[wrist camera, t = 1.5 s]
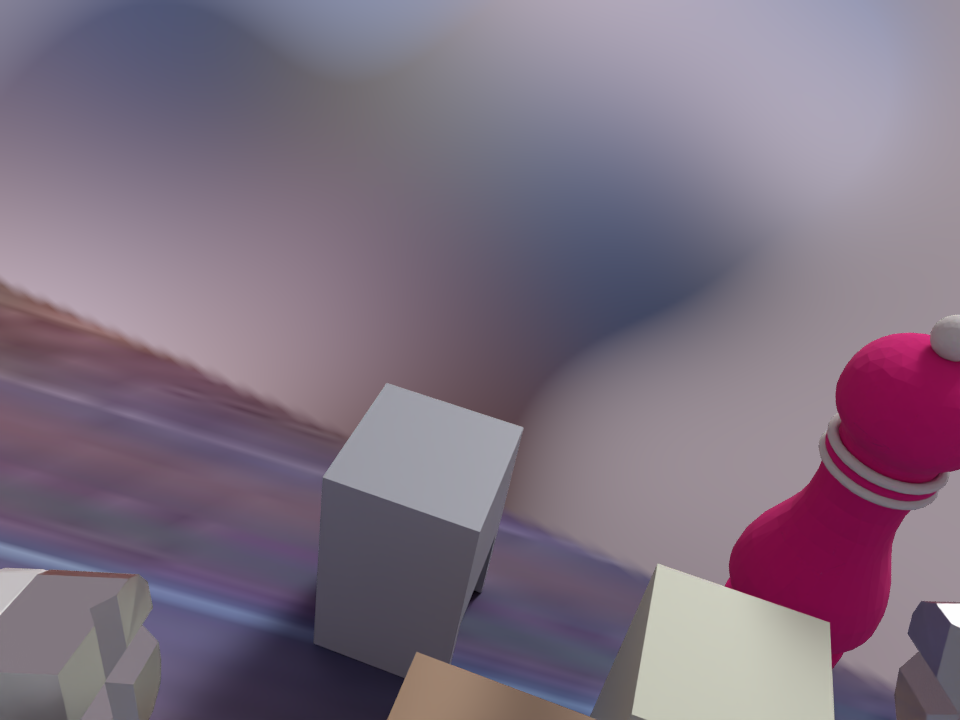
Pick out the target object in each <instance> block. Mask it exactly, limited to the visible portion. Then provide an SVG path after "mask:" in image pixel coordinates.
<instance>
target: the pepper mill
mask: <svg viewBox="0 0 960 720" xmlns="http://www.w3.org/2000/svg"><path fill="white" fill-rule="evenodd" d="M836 406H837V411H838V413H837V414H835V415H834V416H833V417H832V418H831V420H830V422H829V424H828V429H827V430H826V431H825V432H824V433H823V434H822V436H821V438H820V441H819V451H820V456H821V459H822V461H821V464H820V466H819V469H818V470H817V472H816V474H815V475H814V477H813V478H812V480H811V481H810V483H809V484H808V485H807V486H806V487H805V488H804V489H803V490H802V491H800V492H799V493H797V494H796V495H794V496H792V497H791V498H789V499H787V500H785V501H783V502H782V503H780V504H778V505H776V506H775V507H773V508H771V509H769V510H767V511H765V512H764V513H763V514H762V515H761V516H759V517H758V518H757V519H756V520H755V521H753V522H752V523H751V524H750V525H749V526H748V527H747V528H746V529H745V531H744V532H743V533H742V535H741V536H740V538H739V539H738V541H737V542H736V544H735V546H734V547H733V550H732V553H731V556H730V561H729V573H730V578H729V579H728V581H727V583H726V585H725V587H727V588H730V589H733V590H736V591H739V592H742V593H745V594H748V595H751V596H754V597H757V598H760V599H762V600H765V601H768V602H771V603H774V604H777V605H780V606H783V607H786V608H789V609H792V610H795V611H797V612H800V613H803V614H806V615H809V616H812V617H815V618H818V619H821V620H824V621H827V622H830V637H831V659H832V669H833V668H834V666H835V665H836V664H837V662H838V661H839V659H840V658H841V657H842V655H843V653H844V652H847V651H850V650H853V649H855V648H857V647H858V646H860V645H862V644H863V643H865V642H866V641H867V640H868V639H869V638H870V637H871V636H872V634H873V633H874V631H875V630H876V628H877V626H878V624H879V623H880V621H881V619H882V617H883V616H884V613H885V610H886V607H887V603H888V599H889V593H890V586H891V553H892V543H893V539H894V536H895V532H896V530H897V529H898V527H899V525H900V524H901V522H902V520H903V519H904V517H905V515H907V514H908V513H909V512H910V510H916V509H920V508H923V507H926V506H927V505H929V504H931V503H932V502H933V501H934V500H935V498H936V497H937V495H938V492H939V490H940V489H941V488H943V487H944V486H945V485H946V483H947V482H948V479H949V476H950V472H951V471H955V470H959V469H960V315H952V316H948V317H945V318H943V319H941V320H940V321H939V322H938V323H936V324H935V326H934V327H933V329H932V331H931V335H927V334H918V333H900V334H892V335H888V336H885V337H882V338H880V339H877V340H875V341H873V342H871V343H869V344H868V345H866V346H865V347H863V348H862V349H861V350H860V351H859V352H857V353H856V354H855V355H854V356H853V357H852V359H851V360H850V361H849V362H848V364H847V365H846V367H845V368H844V370H843V372H842V374H841V375H840V378H839V380H838V382H837V387H836Z"/></svg>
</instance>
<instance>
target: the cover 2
mask: <svg viewBox="0 0 960 720" xmlns="http://www.w3.org/2000/svg"><path fill="white" fill-rule="evenodd" d="M590 717H592V718H594V719H597V720H834V702H833V680H832V659H831V637H830V622H827V621H824V620H821V619H818V618H815V617H812V616H809V615H806V614H803V613H800V612H797V611H795V610H792V609H789V608H786V607H783V606H780V605H777V604H774V603H771V602H768V601H765V600H762V599H760V598H757V597H754V596H751V595H748V594H745V593H742V592H739V591H736V590H733V589H730V588H727V587H725V586H721V585H719V584H716V583H712V582H710V581H707V580H704V579H701V578H698V577H695V576H692V575H689V574H687V573H684V572H681V571H678V570H675V569H672V568H669V567H666V566H663V565H660V564H657V566H656V568H655V571H654V573H653V575H652V577H651V580H650V582H649V584H648V586H647V589H646V591H645V593H644V595H643V598H642V600H641V602H640V604H639V607H638V609H637V611H636V613H635V616H634V618H633V620H632V623H631V625H630V627H629V629H628V632H627V634H626V636H625V638H624V641H623V643H622V645H621V647H620V650H619V652H618V654H617V656H616V659H615V661H614V663H613V666H612V668H611V670H610V672H609V675H608V677H607V679H606V681H605V684H604V686H603V688H602V690H601V693H600V695H599V697H598V699H597V702H596V704H595V706H594V708H593V711H592V713H591V715H590Z"/></svg>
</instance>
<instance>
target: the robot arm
mask: <svg viewBox="0 0 960 720" xmlns="http://www.w3.org/2000/svg"><path fill="white" fill-rule="evenodd" d="M152 608H153V606H152V601H151V596H150V591H149V586H148V582H147V581H146V580H145V579H144V578H142V577H141V576H140V575H139V574H122V573H104V572H86V571H68V570H48V571H47V570H44V569H21V568H4V569H0V720H149V718H150V716H151V714H152V712H153V709H154V705H155V702H156V698H157V694H158V690H159V686H160V679H161V656H160V649H159V642H158V641H157V640H156V639H155V638H154V637H153V636H152V634H151V633H150V632H149V631H148V630H147V629H146V628H145V627H144V626H143V625H142V624H143V622H144V621H145V619H146V618H147V616H148V614H149V613H150V611H151V610H152ZM908 635H909V637H910V638H911V640H912V641H913V643H914V644H915V646H916V648H917V649H918V651H919V652H918V653H916V654H915V655H914V656H913V657H912V658H911V659H910V660H908V661H907V662H906V663H905V664H904V665H903V666H902V667H901V668H899V674H898V679H897V684H896V689H895V694H894V696H895V707H896V718H897V720H960V602H931V601H929V602H928V601H921V602H920V604H919V605H918V607H917V608H916V610H915V611H914V612H913V615H912V619H911V622H910V626H909V630H908Z"/></svg>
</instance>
